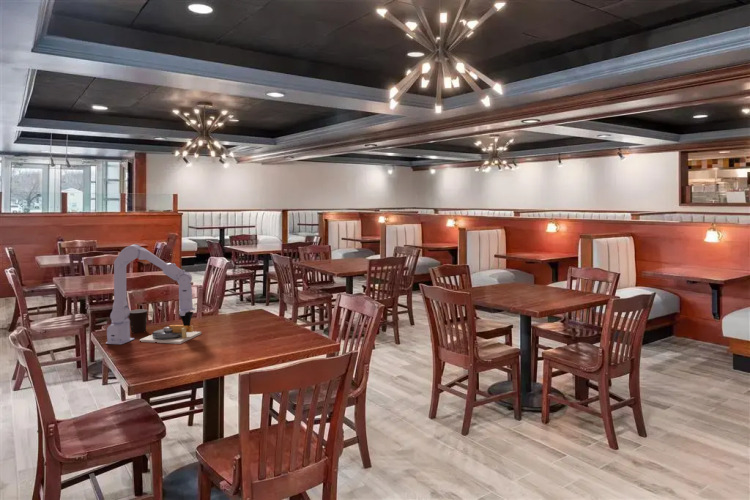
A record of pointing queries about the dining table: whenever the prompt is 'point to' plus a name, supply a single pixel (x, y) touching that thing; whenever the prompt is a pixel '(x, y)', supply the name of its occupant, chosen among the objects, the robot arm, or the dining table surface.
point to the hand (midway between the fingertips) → (186, 328)
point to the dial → (171, 331)
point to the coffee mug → (138, 320)
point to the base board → (177, 340)
